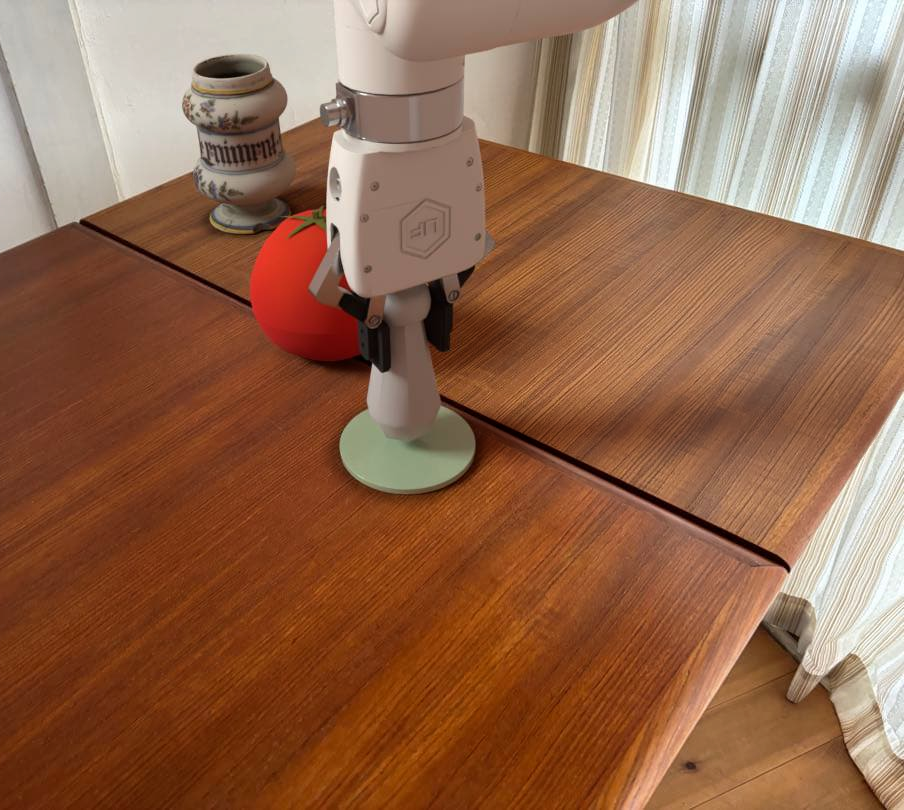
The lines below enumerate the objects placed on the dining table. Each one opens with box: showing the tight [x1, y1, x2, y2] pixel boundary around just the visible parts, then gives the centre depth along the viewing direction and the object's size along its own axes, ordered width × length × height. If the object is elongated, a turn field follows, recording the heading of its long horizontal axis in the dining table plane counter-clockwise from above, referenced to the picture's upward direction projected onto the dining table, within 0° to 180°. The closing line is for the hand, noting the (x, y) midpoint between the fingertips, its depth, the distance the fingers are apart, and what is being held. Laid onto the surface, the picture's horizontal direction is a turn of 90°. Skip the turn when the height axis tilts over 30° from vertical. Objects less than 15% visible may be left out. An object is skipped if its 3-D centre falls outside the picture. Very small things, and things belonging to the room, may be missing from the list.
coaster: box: [339, 405, 477, 495], centre depth 69 cm, size 11×11×1 cm
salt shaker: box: [366, 283, 442, 442], centre depth 64 cm, size 6×6×13 cm
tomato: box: [249, 205, 362, 362], centre depth 75 cm, size 13×11×14 cm
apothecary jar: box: [181, 53, 297, 235], centre depth 98 cm, size 12×12×18 cm
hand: (406, 350), depth 63 cm, fingers closed on salt shaker, 4 cm apart
